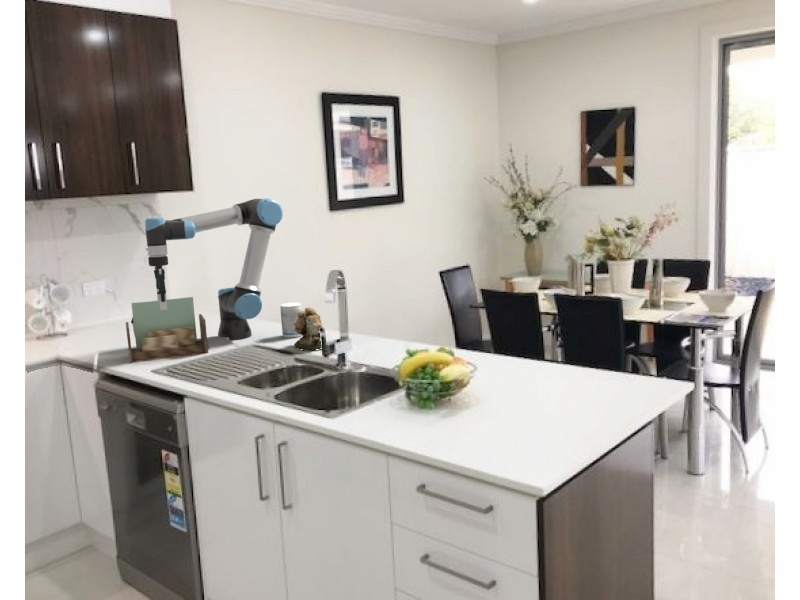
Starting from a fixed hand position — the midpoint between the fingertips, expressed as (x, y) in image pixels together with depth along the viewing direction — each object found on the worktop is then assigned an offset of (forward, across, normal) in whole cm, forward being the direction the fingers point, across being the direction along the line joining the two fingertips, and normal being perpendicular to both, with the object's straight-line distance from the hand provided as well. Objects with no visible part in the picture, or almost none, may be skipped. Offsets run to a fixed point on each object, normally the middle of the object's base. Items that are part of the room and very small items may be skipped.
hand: (162, 307), depth 283 cm
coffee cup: (+21, -15, -8) cm, 27 cm away
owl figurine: (+20, +17, +56) cm, 62 cm away
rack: (+21, +4, 0) cm, 21 cm away
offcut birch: (+19, +6, -3) cm, 20 cm away
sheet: (+19, 0, 0) cm, 19 cm away
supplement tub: (+20, -8, +55) cm, 59 cm away
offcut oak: (+19, +3, +2) cm, 19 cm away
